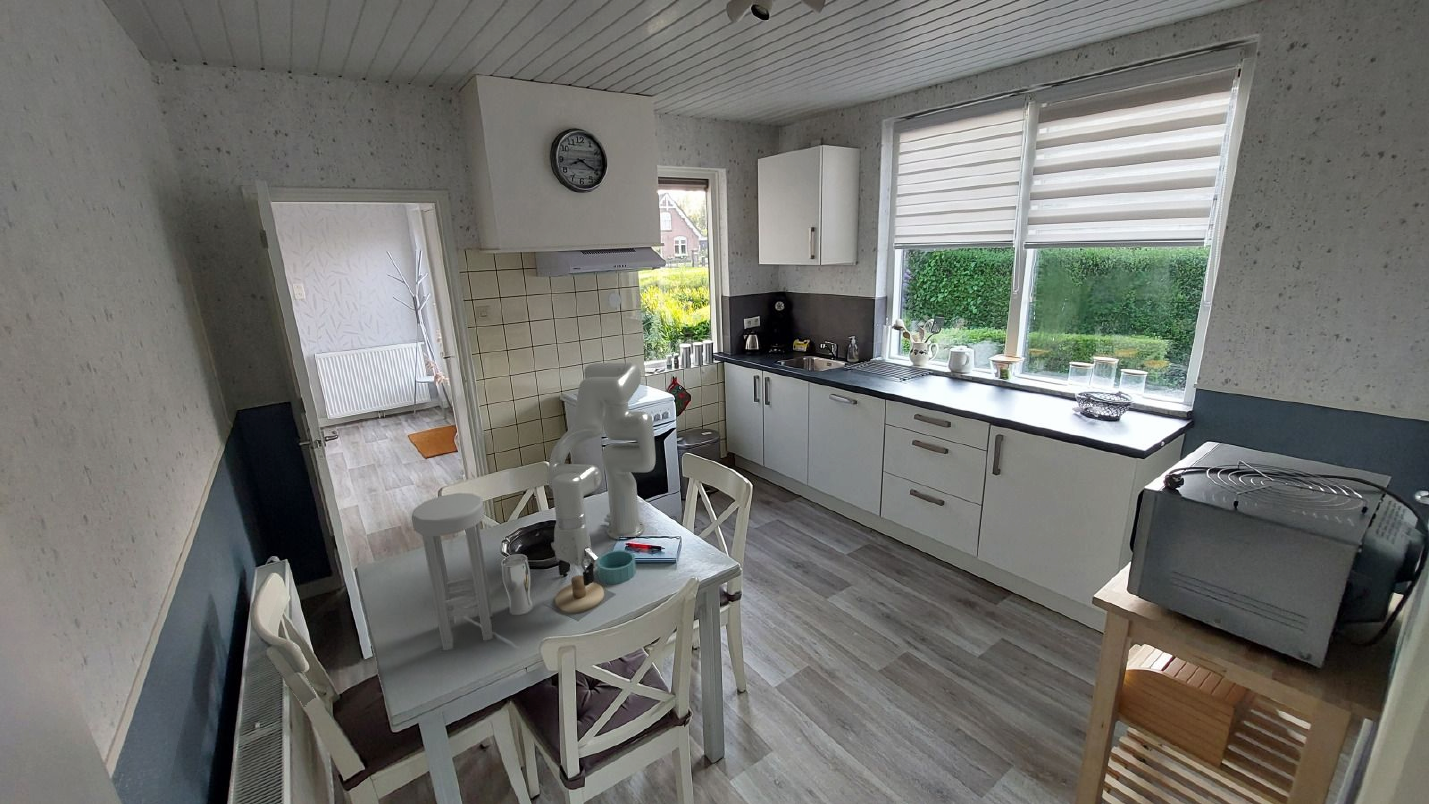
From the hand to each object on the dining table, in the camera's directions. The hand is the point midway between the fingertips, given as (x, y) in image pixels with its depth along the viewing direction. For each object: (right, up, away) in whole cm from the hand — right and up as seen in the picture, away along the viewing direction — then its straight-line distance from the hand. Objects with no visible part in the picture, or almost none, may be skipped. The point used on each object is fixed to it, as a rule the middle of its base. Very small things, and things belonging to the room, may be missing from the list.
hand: (576, 578), depth 157 cm
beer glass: (-15, -9, -1) cm, 17 cm away
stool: (-26, -11, -8) cm, 29 cm away
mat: (0, -7, +3) cm, 7 cm away
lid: (0, -6, +2) cm, 7 cm away
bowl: (+9, -3, +15) cm, 17 cm away
